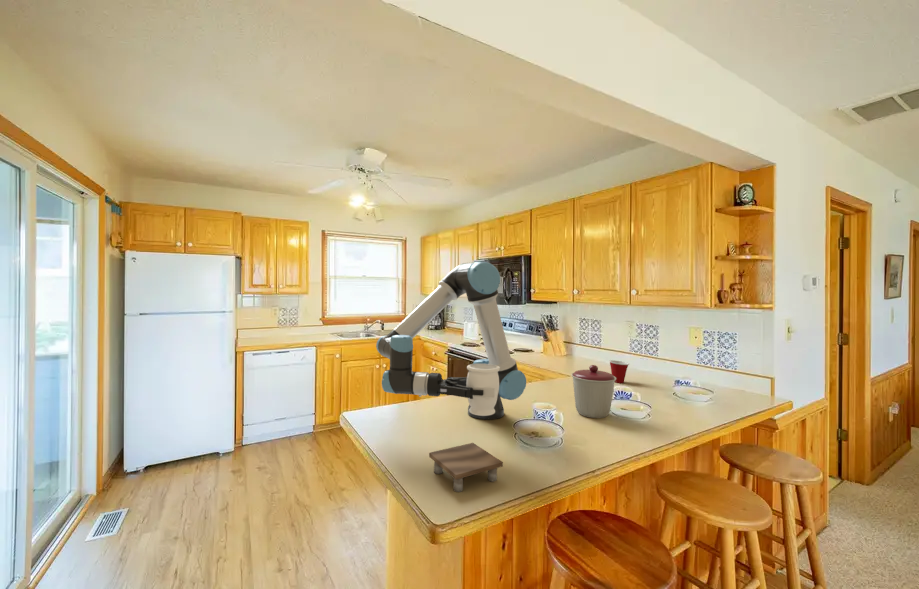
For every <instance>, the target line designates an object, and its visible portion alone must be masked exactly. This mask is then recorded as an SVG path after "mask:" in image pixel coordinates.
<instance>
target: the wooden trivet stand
mask: <svg viewBox="0 0 919 589" xmlns="http://www.w3.org/2000/svg"><path fill="white" fill-rule="evenodd" d="M428 456H429V458H430V459H431V460H432V461H433V463H434V464H433V465H434V466H433V468H434V469H433V472H434V474H436V475H441V474H443V470H444V471H445V472H446V473H447V474H448V475H449V476H450V477H452V478H453V492H456V493H461V492H463V490H464V478H466V477H469V476H474V475H478V474H481V473H484V472H487V480H488V481H489V482H492V483H494V482H496V481H497V478H498V477H497V475H498V474H497V472H498V468H502V467H504V466H503V465H504V462H503V461H502V460H501V459H499V458H497V457H495V456H494V455H493V454H491V453H489V452H488V451H487V450H485V449H483V448H482V447H480V446H479V445H478V444H475V443H474V442H470V443H466V444H462V445H457V446H453V447H449V448H444V449H439V450H436V451H431V452H428Z"/></svg>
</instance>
